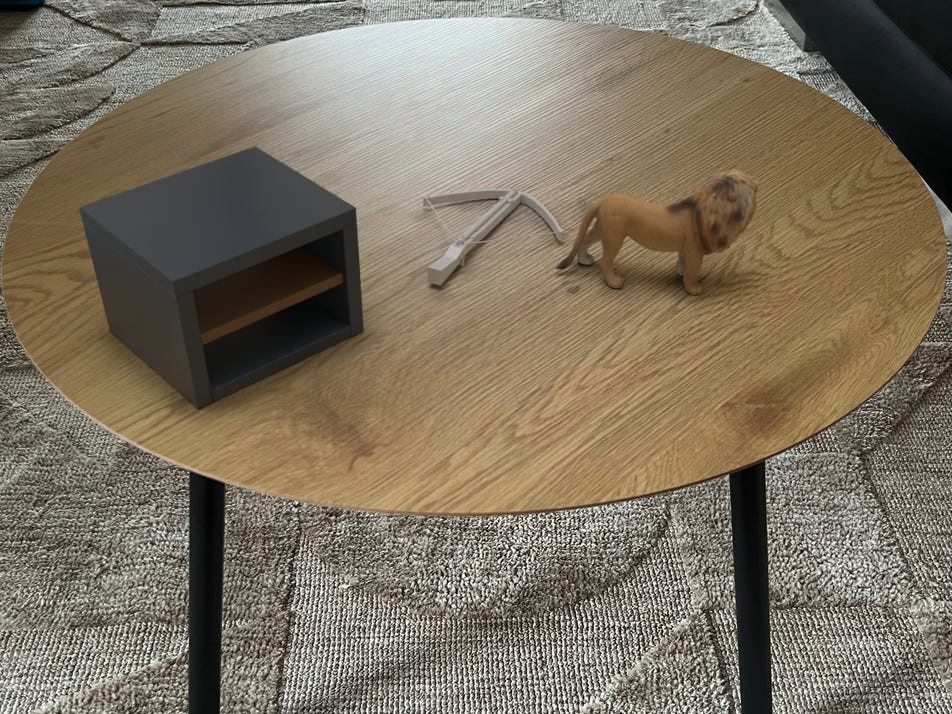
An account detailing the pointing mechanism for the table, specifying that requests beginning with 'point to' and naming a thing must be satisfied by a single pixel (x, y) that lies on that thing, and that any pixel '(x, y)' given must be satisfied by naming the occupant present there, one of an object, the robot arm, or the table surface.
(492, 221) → the crossbow
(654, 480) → the table surface
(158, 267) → the shelf
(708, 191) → the lion figurine
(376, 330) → the table surface
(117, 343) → the table surface
